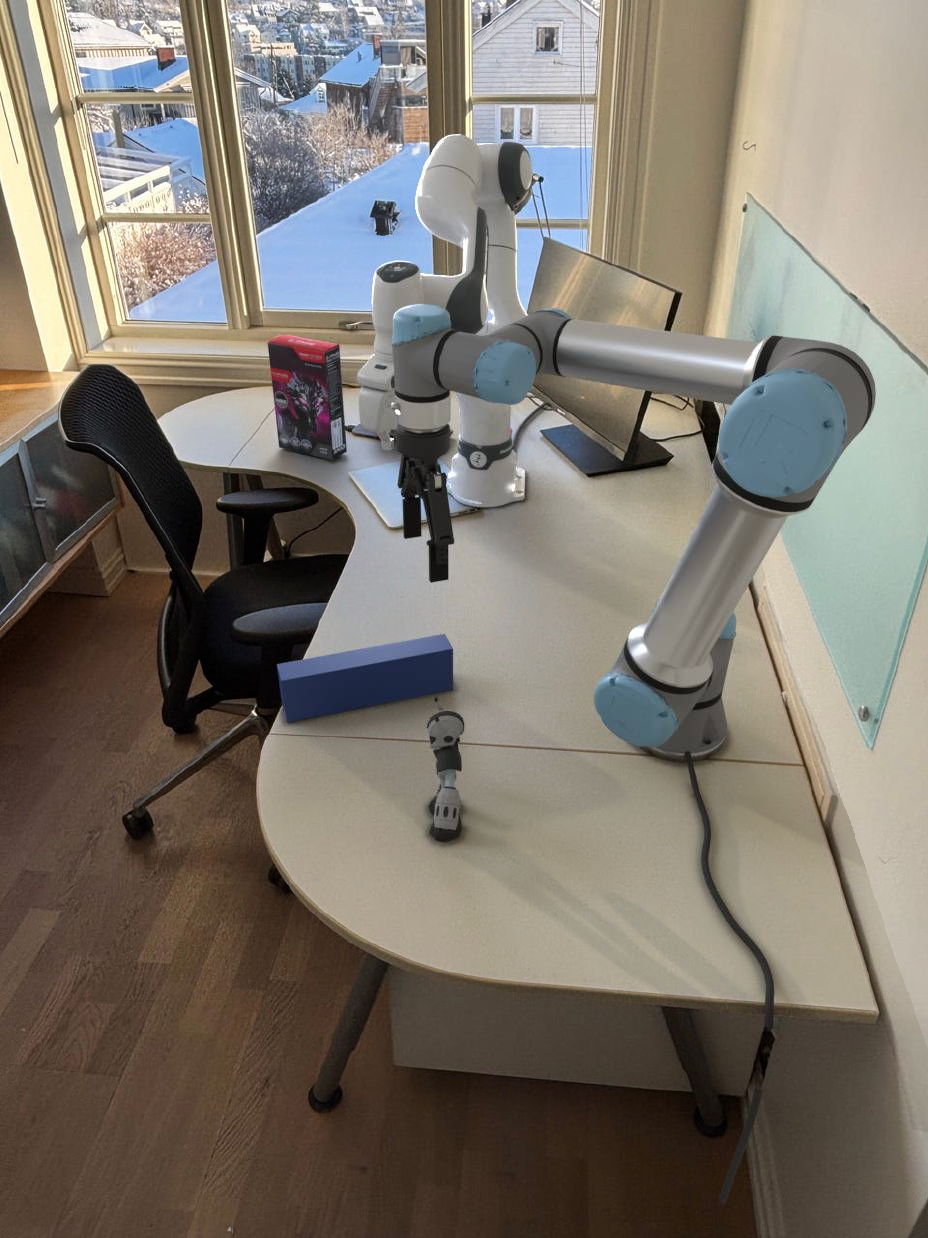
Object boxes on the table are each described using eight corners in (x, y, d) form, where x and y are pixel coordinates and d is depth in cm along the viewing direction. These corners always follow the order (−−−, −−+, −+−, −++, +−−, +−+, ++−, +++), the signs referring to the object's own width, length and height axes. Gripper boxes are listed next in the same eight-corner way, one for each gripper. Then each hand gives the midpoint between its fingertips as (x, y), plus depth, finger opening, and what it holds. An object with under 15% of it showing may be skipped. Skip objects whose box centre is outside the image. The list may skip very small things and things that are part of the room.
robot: (467, 874, 119) (468, 759, 108) (429, 876, 119) (427, 760, 108) (460, 769, 135) (460, 659, 124) (426, 770, 135) (424, 660, 124)
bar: (445, 673, 155) (444, 633, 150) (453, 689, 151) (453, 648, 147) (282, 705, 147) (276, 664, 143) (286, 722, 144) (281, 680, 139)
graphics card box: (276, 448, 231) (264, 340, 216) (293, 439, 236) (282, 332, 221) (333, 462, 225) (324, 351, 209) (349, 452, 230) (341, 343, 214)
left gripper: (417, 344, 167) (419, 417, 174) (350, 377, 152) (355, 455, 160) (447, 350, 164) (447, 424, 172) (382, 384, 149) (385, 463, 157)
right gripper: (373, 395, 135) (380, 523, 147) (422, 462, 116) (425, 604, 128) (422, 390, 137) (425, 517, 149) (478, 455, 118) (476, 595, 130)
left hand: (402, 439), depth 166 cm, fingers open, 8 cm apart
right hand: (425, 557), depth 138 cm, fingers open, 13 cm apart
